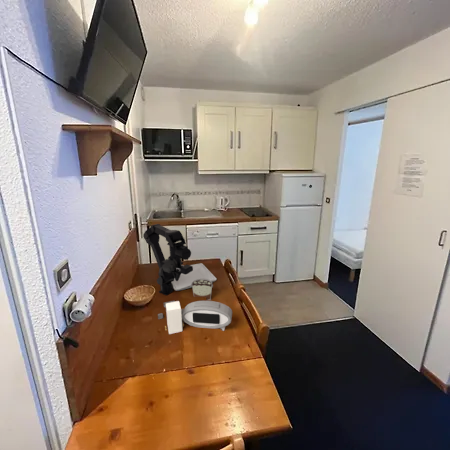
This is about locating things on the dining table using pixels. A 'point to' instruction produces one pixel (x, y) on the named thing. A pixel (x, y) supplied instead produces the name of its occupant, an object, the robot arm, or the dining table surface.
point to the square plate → (193, 277)
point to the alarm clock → (207, 314)
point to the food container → (202, 288)
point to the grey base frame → (162, 313)
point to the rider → (174, 317)
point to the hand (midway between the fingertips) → (177, 280)
